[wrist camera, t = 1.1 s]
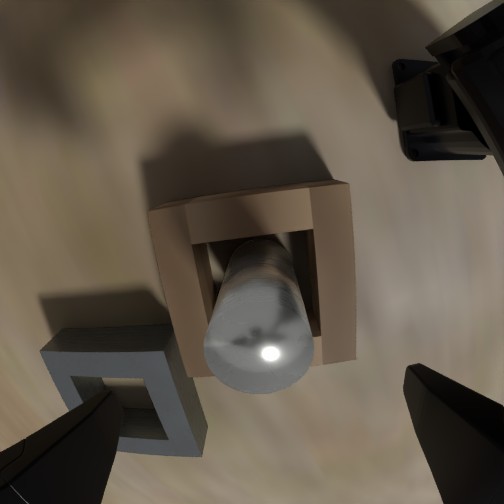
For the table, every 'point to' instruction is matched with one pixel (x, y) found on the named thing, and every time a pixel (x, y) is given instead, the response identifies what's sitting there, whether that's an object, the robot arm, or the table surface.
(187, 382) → the block
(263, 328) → the metal cylinder peg
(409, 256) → the table surface
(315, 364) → the socket block
